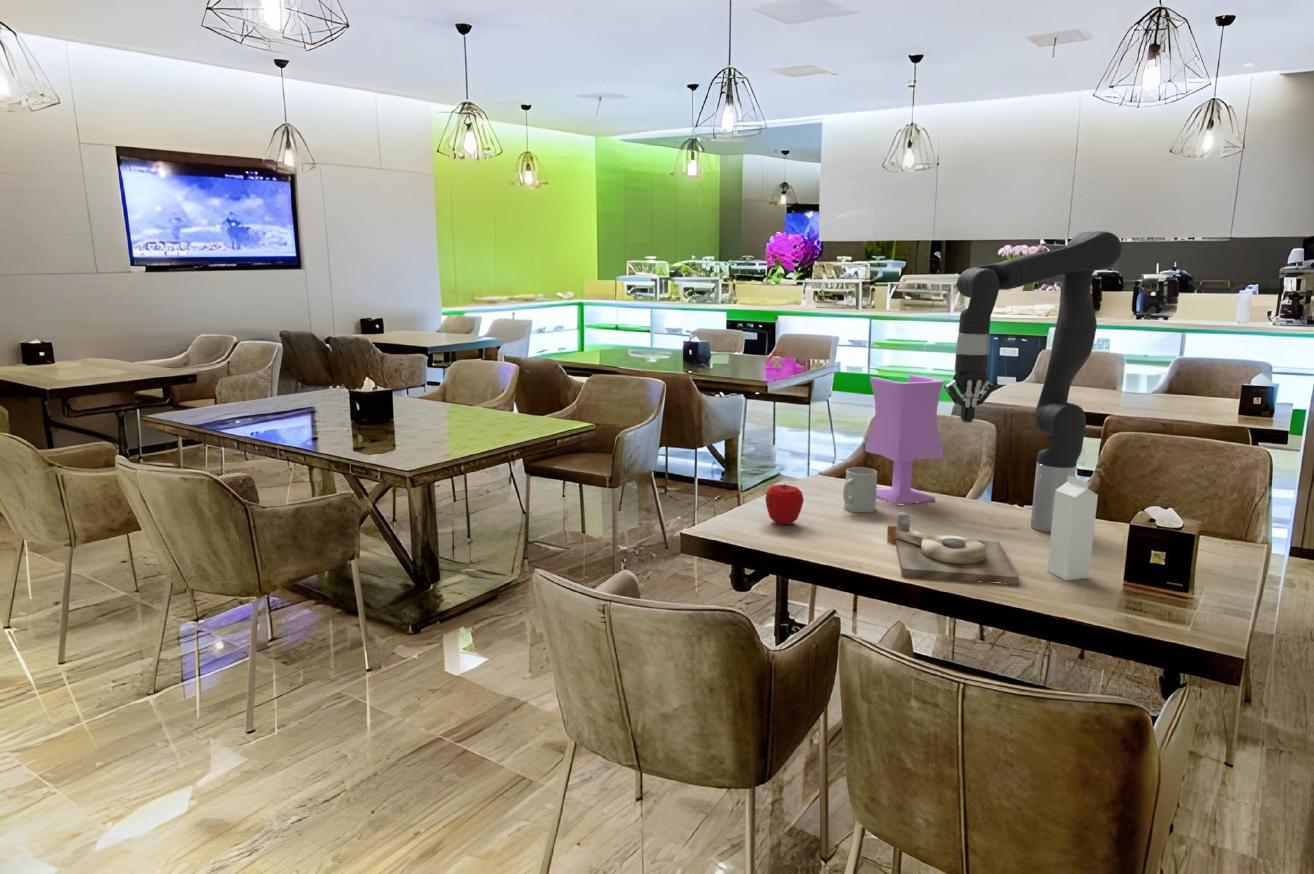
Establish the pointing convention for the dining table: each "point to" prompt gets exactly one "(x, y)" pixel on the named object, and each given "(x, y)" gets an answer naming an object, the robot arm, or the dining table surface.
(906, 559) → the base plate
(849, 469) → the mug
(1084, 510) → the milk
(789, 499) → the apple
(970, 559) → the crank handle
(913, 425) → the table lamp
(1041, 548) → the dining table surface
